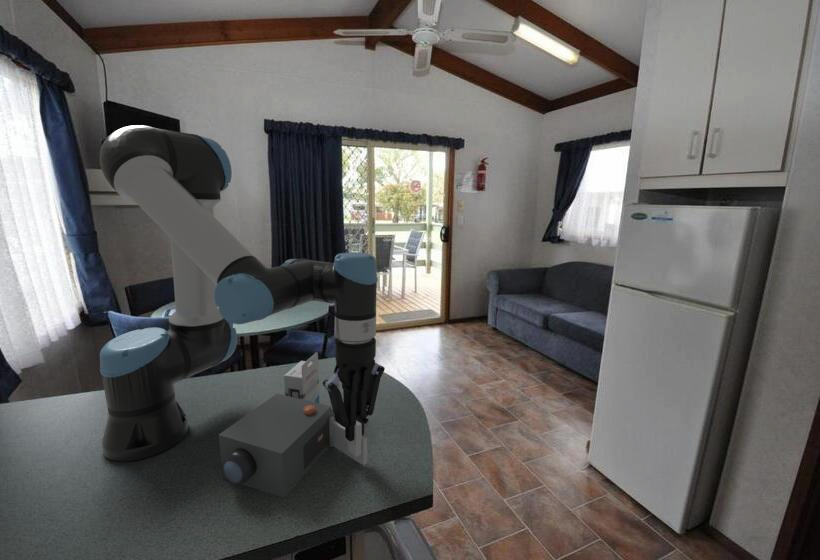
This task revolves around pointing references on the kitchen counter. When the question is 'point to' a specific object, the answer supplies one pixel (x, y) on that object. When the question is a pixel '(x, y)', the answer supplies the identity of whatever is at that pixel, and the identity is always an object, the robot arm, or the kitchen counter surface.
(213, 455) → the kitchen counter surface
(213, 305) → the robot arm
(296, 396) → the ink box
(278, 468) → the block
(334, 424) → the side door
